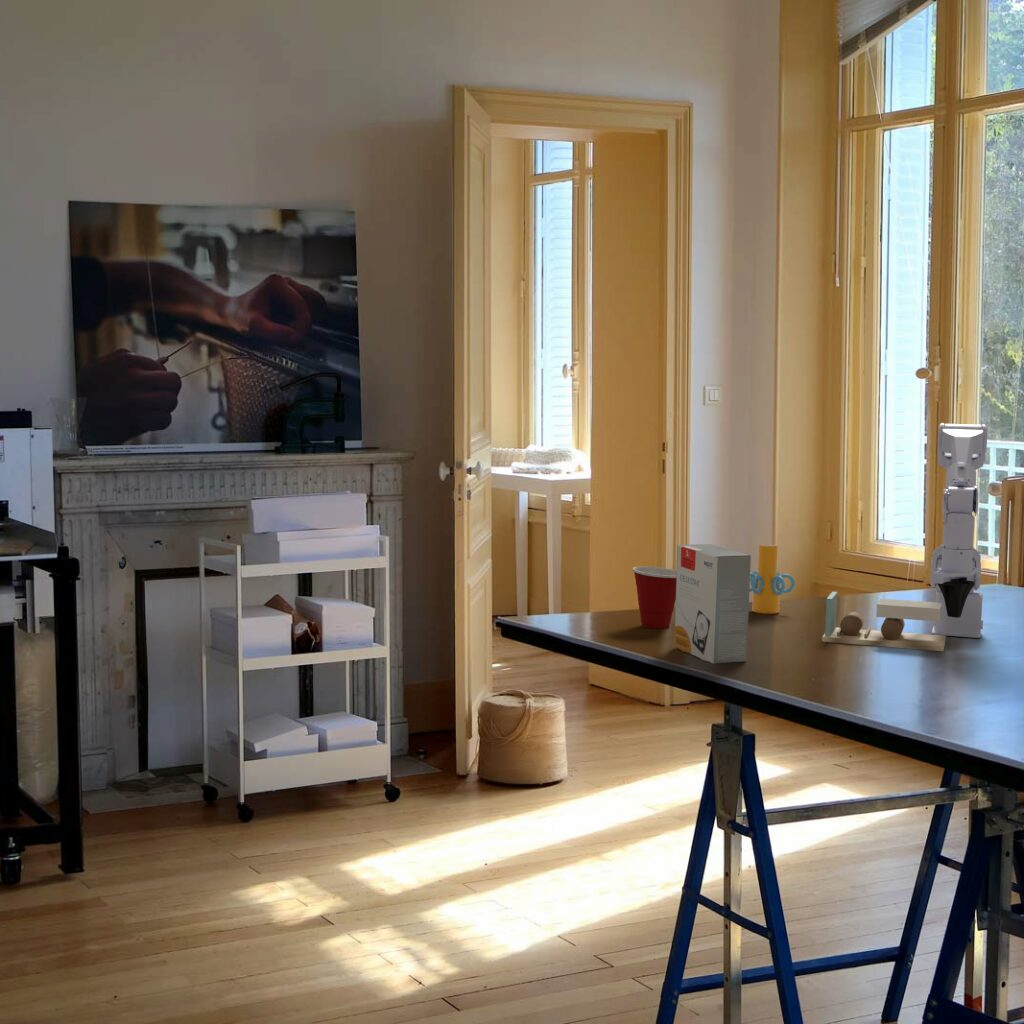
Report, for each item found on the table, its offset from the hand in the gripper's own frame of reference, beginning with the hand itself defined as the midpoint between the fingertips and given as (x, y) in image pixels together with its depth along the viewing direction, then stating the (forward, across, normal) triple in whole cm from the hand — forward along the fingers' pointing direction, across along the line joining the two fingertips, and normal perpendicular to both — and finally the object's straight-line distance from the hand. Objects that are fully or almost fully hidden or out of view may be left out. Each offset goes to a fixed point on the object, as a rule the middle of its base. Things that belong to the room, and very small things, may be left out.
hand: (954, 616), depth 278 cm
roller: (+5, +9, -17) cm, 20 cm away
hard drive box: (+6, +46, -24) cm, 52 cm away
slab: (+1, +4, -8) cm, 9 cm away
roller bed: (+6, +6, -12) cm, 14 cm away
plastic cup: (+6, +31, -50) cm, 59 cm away
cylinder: (+6, -3, -48) cm, 48 cm away
